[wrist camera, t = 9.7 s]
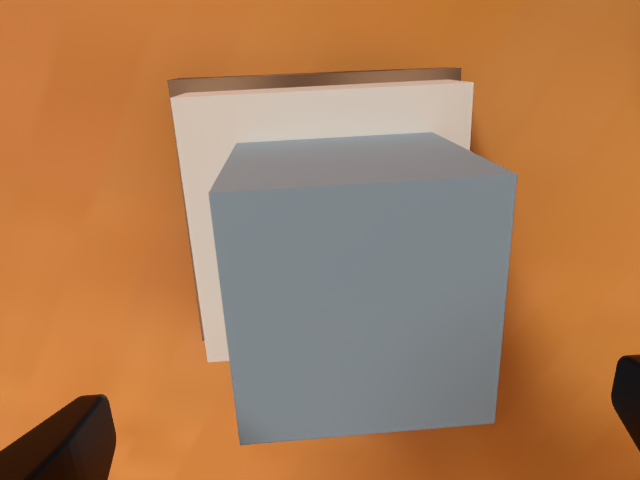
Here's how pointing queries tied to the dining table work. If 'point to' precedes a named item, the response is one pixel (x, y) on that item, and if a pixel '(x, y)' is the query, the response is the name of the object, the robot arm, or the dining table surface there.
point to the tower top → (292, 124)
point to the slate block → (362, 284)
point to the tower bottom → (300, 80)
